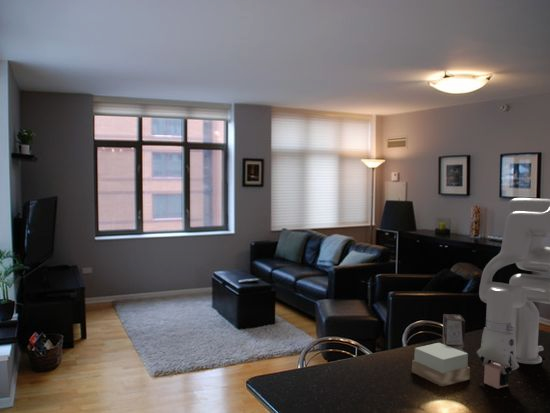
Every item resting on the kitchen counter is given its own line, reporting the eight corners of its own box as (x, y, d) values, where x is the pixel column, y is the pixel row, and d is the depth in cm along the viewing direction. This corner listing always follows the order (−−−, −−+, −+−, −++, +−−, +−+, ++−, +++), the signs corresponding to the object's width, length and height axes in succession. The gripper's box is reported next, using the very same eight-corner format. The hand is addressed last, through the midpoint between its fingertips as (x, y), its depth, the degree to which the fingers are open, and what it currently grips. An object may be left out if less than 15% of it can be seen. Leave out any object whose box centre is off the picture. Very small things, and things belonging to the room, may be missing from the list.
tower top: (438, 355, 171) (439, 342, 170) (467, 366, 160) (468, 353, 160) (414, 361, 165) (414, 348, 164) (442, 373, 154) (443, 359, 154)
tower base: (438, 367, 172) (439, 354, 171) (469, 380, 160) (470, 367, 160) (411, 373, 165) (412, 360, 165) (441, 388, 154) (442, 374, 154)
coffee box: (463, 366, 172) (465, 321, 171) (444, 364, 173) (446, 319, 172) (459, 357, 181) (461, 314, 180) (441, 355, 182) (443, 313, 181)
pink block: (494, 380, 160) (494, 362, 160) (507, 385, 156) (508, 367, 155) (483, 382, 158) (484, 364, 157) (497, 388, 153) (498, 370, 153)
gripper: (530, 332, 150) (527, 389, 151) (483, 318, 165) (481, 370, 166) (515, 335, 146) (512, 394, 147) (468, 320, 161) (466, 374, 162)
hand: (495, 381), depth 156 cm, fingers closed on pink block, 5 cm apart
